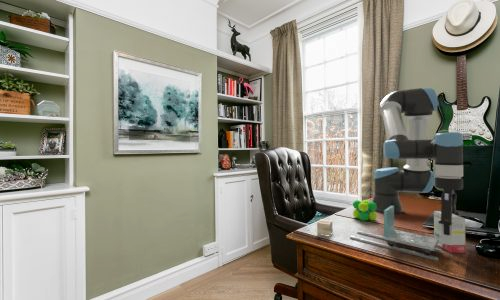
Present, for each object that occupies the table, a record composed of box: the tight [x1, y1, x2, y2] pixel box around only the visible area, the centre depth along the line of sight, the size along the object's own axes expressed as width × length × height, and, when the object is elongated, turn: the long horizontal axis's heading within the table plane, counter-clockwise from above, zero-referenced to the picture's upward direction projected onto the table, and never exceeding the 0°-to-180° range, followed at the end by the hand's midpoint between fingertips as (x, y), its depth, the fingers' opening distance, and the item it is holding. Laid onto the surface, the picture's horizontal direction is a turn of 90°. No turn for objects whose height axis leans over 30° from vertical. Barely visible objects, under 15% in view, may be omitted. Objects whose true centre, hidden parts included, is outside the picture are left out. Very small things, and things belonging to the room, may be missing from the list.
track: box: [349, 230, 442, 262], centre depth 85 cm, size 9×27×1 cm, turn 45°
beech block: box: [316, 219, 333, 237], centre depth 97 cm, size 5×5×5 cm
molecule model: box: [352, 199, 378, 222], centre depth 116 cm, size 9×9×9 cm
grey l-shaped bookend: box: [383, 206, 438, 255], centre depth 81 cm, size 10×14×12 cm
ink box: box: [433, 210, 466, 254], centre depth 82 cm, size 9×5×12 cm, turn 173°
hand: (449, 238), depth 82 cm, fingers open, 13 cm apart
